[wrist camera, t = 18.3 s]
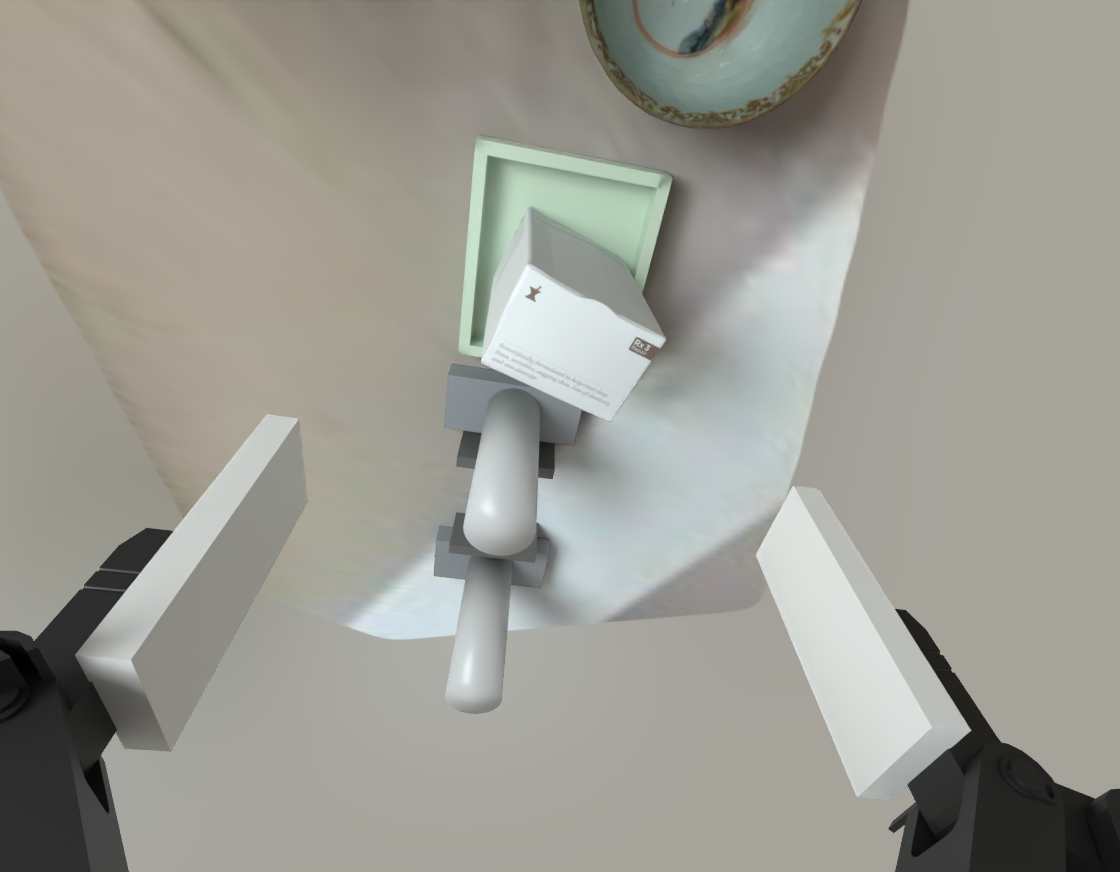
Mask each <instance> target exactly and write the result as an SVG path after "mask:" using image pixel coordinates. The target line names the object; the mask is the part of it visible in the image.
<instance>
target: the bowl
mask: <svg viewBox="0 0 1120 872" xmlns="http://www.w3.org/2000/svg"><path fill="white" fill-rule="evenodd" d="M861 1H862V0H579V2H580V7H581V12H582V17H583V22H584V25H585V29H586V32H587V35H588V38H589V41H590V44H591V46H592V49H593V51H594V53H595V55H596V56H597V58H598V60H599V62H600V63H601V65H602V67H603V69H604V70H605V72H606V74H607V76H608V77H609V79H610V80H611V81H612V82H613V84H614V85H615V86H616V87H617V89H618V90H619V91H620V92H621V93H622V94H624V95H625V96H626V97H627V98H628V99H629V100H630V101H631V102H632V103H634V104H635V105H636V106H638V107H639V108H641V109H642V110H644V111H645V112H647V113H648V114H650V115H652V116H654V117H657V118H659V119H661V120H664V121H667V122H669V123H672V124H675V125H679V126H684V127H689V128H712V129H715V128H725V127H730V126H734V125H739V124H742V123H745V122H748V121H751V120H753V119H756V118H758V117H760V116H763V115H765V114H766V113H768V112H770V111H771V110H773V109H775V108H776V107H778V106H779V105H781V104H783V103H784V102H785V101H787V100H788V99H789V98H791V97H792V96H793V95H794V94H796V93H797V92H798V91H799V90H801V89H802V88H803V87H804V86H805V85H806V84H807V83H808V82H809V81H810V80H811V79H812V78H813V77H814V76H815V75H816V74H817V73H818V72H819V70H820V69H821V68H822V67H823V66H824V65H825V64H826V63H827V61H828V60H829V59H830V57H831V56H832V54H833V53H834V52H835V50H836V49H837V47H838V46H839V44H840V42H841V41H842V39H843V38H844V36H845V34H846V32H847V30H848V28H849V26H850V25H851V23H852V21H853V19H854V17H855V15H856V13H857V11H858V8H859V6H860V3H861Z"/></svg>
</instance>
